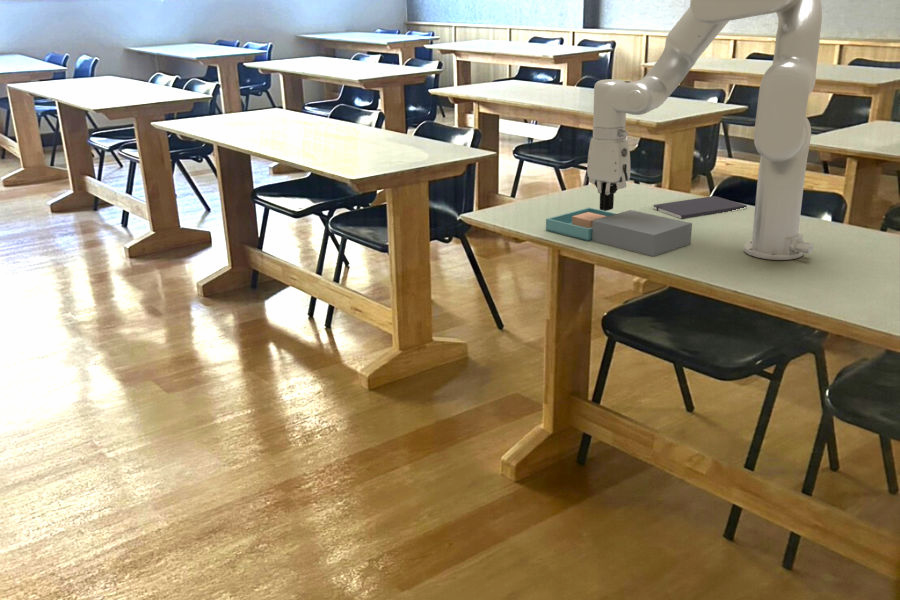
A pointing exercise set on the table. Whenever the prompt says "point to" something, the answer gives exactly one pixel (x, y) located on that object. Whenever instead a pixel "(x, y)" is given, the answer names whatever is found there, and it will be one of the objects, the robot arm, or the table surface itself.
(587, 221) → the terracotta block
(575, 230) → the tray
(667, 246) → the slate bench plate
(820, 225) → the table surface
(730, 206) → the notebook
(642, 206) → the table surface
